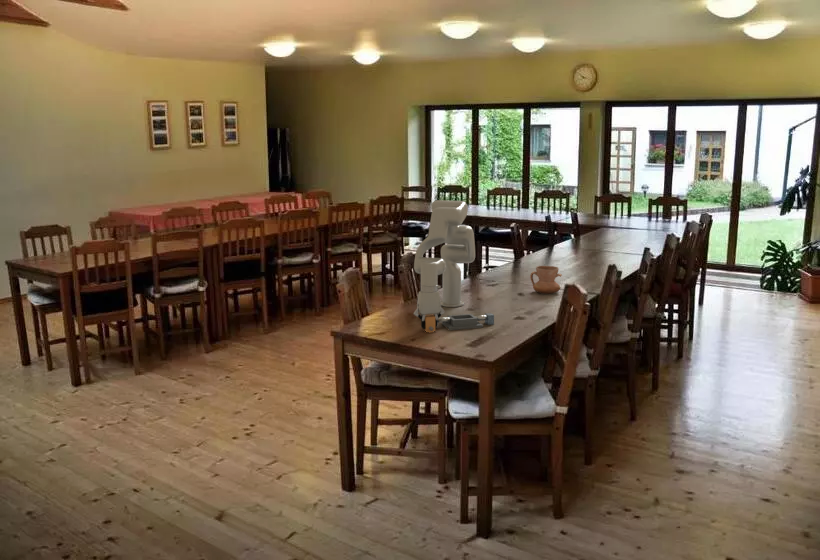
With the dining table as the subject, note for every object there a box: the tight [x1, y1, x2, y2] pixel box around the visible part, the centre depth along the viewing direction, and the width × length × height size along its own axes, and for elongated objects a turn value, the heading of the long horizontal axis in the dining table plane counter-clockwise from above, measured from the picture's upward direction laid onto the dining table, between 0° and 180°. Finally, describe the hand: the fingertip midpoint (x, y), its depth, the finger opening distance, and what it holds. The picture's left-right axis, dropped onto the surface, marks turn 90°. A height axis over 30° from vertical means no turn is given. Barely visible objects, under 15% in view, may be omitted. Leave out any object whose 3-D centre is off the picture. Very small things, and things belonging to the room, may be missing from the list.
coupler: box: [424, 314, 436, 333], centre depth 319 cm, size 4×8×7 cm, turn 15°
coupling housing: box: [441, 313, 484, 331], centre depth 327 cm, size 11×16×4 cm
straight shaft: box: [474, 312, 495, 326], centre depth 330 cm, size 9×4×4 cm, turn 105°
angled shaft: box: [436, 316, 450, 328], centre depth 327 cm, size 9×4×4 cm, turn 80°
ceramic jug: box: [529, 265, 563, 295], centre depth 391 cm, size 18×14×14 cm
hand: (429, 328), depth 320 cm, fingers closed on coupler, 4 cm apart
